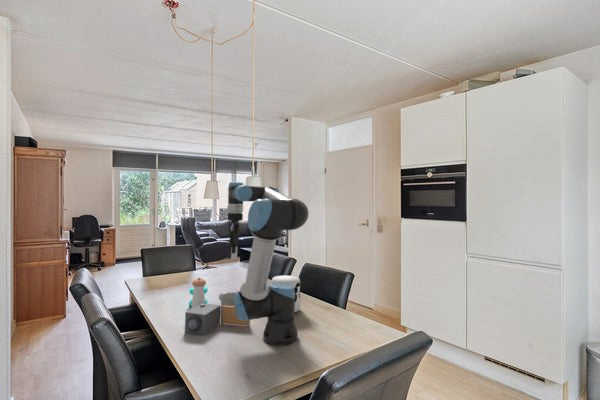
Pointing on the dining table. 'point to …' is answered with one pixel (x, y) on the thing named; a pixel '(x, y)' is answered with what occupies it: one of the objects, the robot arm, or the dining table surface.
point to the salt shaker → (198, 292)
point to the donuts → (192, 294)
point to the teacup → (227, 299)
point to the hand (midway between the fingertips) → (233, 259)
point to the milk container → (293, 283)
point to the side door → (231, 316)
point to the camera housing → (202, 318)
